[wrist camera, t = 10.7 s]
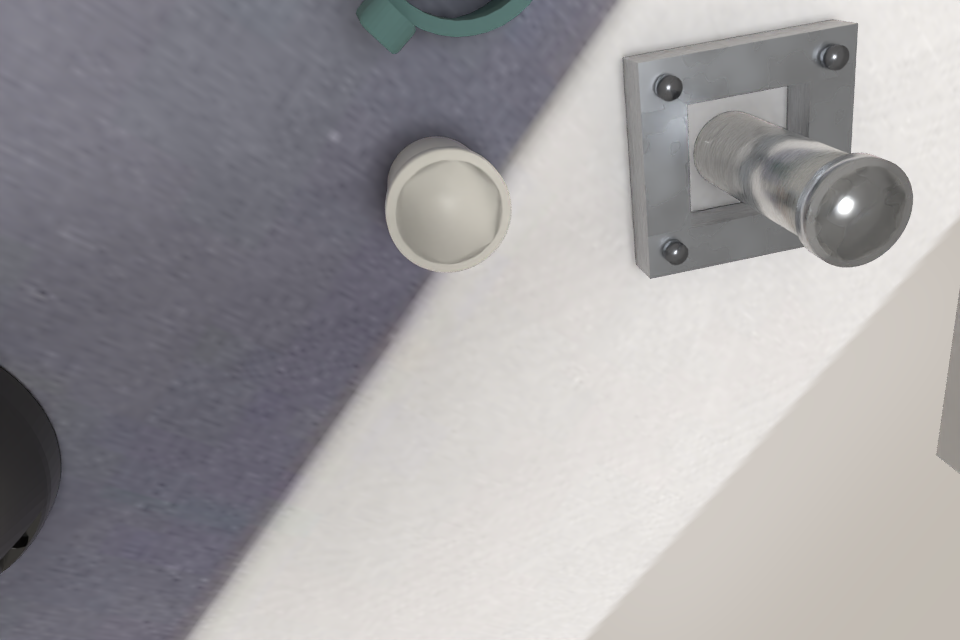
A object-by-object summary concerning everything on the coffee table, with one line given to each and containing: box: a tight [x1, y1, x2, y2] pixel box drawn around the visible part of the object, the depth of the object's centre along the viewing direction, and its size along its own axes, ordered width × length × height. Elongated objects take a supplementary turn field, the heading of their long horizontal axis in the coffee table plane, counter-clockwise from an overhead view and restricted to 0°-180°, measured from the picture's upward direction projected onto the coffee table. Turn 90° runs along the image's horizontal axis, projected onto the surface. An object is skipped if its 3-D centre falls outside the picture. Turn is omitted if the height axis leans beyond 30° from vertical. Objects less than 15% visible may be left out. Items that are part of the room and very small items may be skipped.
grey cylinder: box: [694, 111, 913, 267], centre depth 39 cm, size 5×5×12 cm
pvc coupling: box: [385, 136, 511, 272], centre depth 40 cm, size 6×6×5 cm
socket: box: [623, 20, 858, 279], centre depth 43 cm, size 11×11×3 cm
